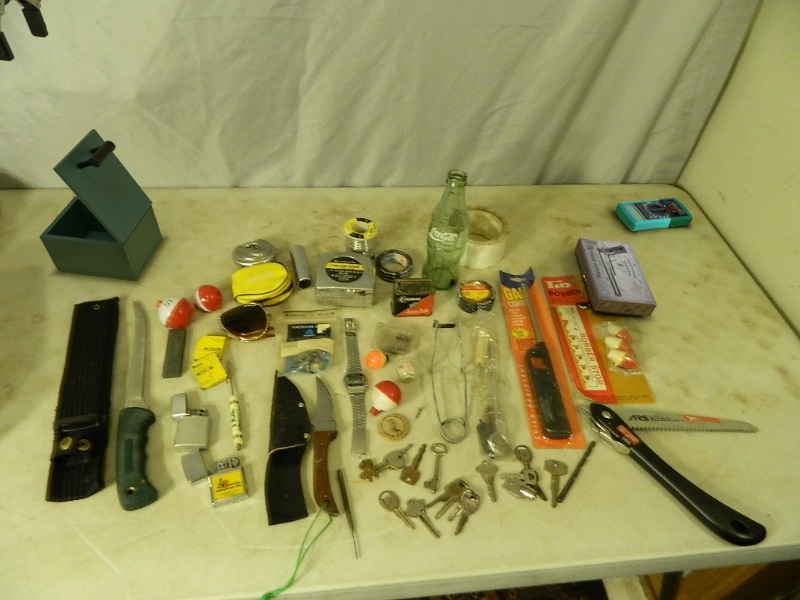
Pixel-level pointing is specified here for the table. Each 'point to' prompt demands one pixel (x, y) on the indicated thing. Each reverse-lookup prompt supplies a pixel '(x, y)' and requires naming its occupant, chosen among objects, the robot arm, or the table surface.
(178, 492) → the table surface
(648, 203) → the digital multimeter
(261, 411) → the table surface
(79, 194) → the lid
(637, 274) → the box
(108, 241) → the case
